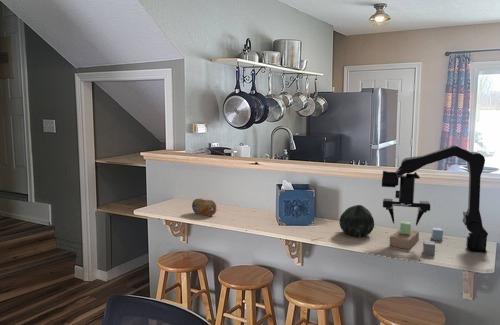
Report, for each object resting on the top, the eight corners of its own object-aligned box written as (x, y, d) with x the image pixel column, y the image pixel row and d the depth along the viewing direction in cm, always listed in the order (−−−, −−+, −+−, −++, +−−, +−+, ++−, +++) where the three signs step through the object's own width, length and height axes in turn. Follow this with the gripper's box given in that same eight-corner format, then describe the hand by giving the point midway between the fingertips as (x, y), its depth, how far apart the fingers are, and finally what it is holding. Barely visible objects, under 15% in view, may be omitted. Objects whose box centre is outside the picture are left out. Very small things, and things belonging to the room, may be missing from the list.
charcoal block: (433, 252, 175) (434, 241, 174) (434, 255, 171) (435, 244, 170) (422, 251, 176) (423, 240, 175) (423, 254, 172) (424, 243, 172)
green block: (410, 232, 187) (410, 221, 186) (410, 234, 183) (410, 224, 183) (400, 231, 188) (400, 220, 188) (400, 233, 185) (400, 223, 184)
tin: (191, 213, 233) (191, 197, 231) (195, 212, 235) (195, 196, 234) (213, 217, 224) (213, 201, 223) (217, 216, 227) (217, 200, 225)
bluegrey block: (441, 237, 193) (442, 228, 192) (442, 240, 189) (443, 230, 189) (431, 237, 194) (432, 227, 194) (432, 239, 191) (433, 229, 190)
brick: (400, 236, 196) (400, 226, 195) (419, 240, 191) (420, 229, 190) (388, 247, 182) (389, 236, 181) (409, 251, 177) (409, 239, 177)
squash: (348, 215, 209) (342, 196, 198) (379, 221, 201) (375, 202, 191) (339, 240, 201) (332, 222, 191) (371, 247, 194) (366, 228, 183)
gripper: (429, 185, 188) (427, 221, 190) (383, 183, 193) (382, 217, 196) (431, 191, 177) (429, 228, 180) (383, 188, 183) (381, 224, 185)
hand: (404, 224), depth 185 cm, fingers open, 9 cm apart
